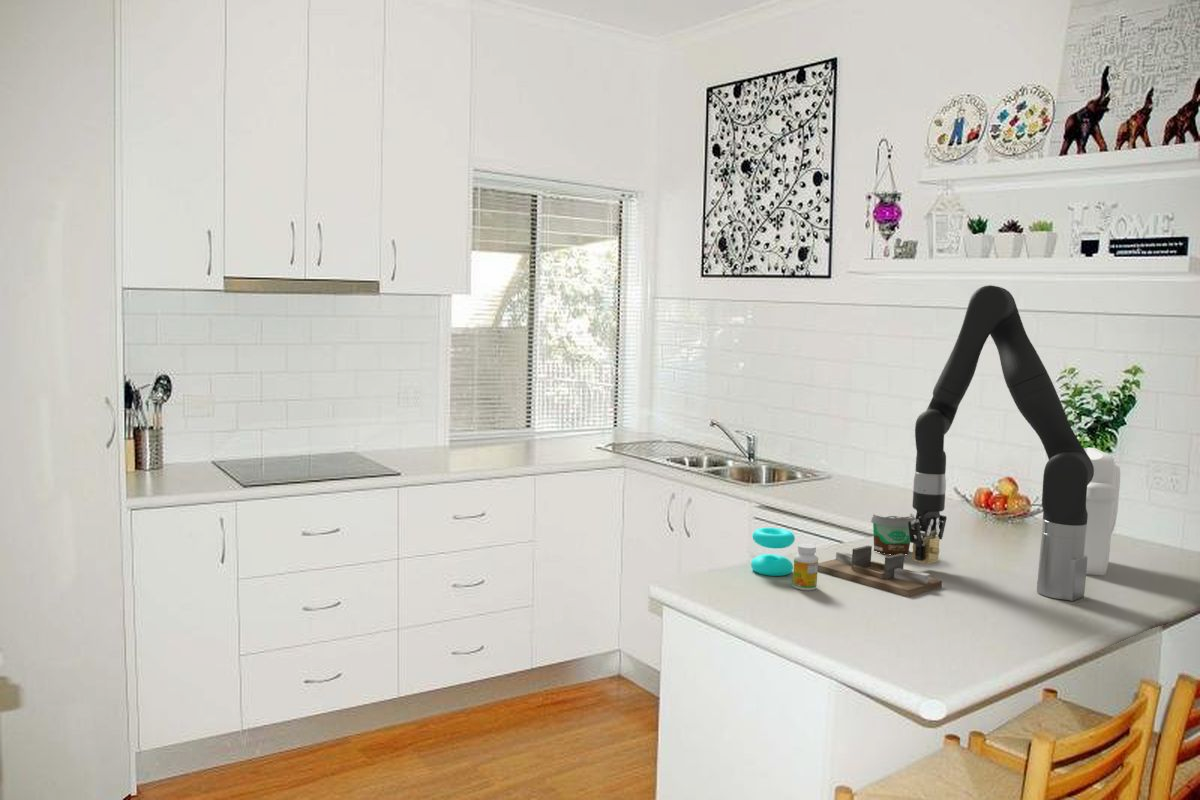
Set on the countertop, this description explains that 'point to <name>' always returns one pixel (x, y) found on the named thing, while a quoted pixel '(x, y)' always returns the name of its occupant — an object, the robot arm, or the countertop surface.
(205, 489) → the countertop surface
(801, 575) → the supplement bottle
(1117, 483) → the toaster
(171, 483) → the countertop surface
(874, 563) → the board
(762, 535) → the donuts
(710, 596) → the countertop surface
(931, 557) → the tan block
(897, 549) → the food container
